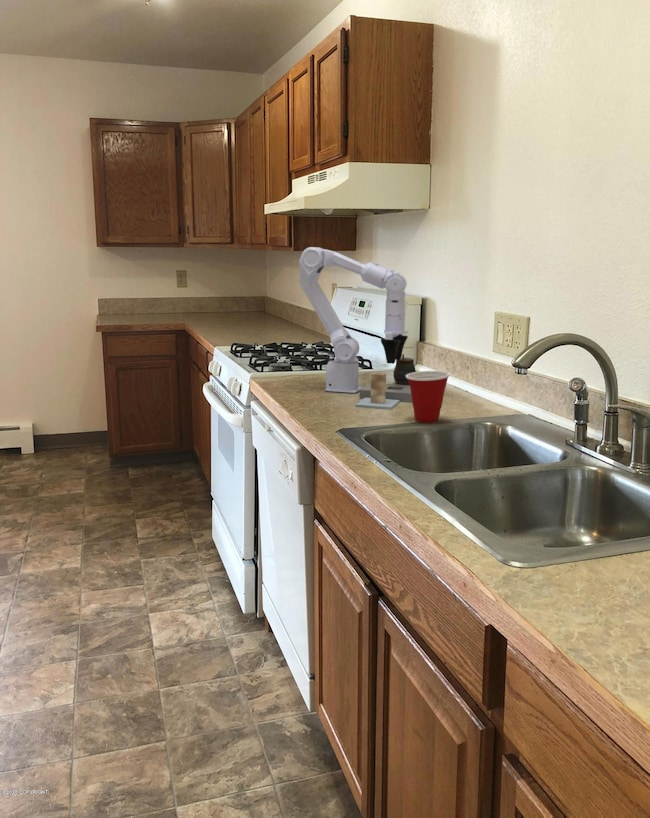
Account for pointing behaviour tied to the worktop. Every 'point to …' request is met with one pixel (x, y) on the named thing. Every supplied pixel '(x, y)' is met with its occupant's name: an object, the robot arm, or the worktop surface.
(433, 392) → the plastic cup
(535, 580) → the worktop surface
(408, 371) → the mate gourd
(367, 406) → the mat
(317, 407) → the worktop surface
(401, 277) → the robot arm
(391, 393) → the grey flat plate
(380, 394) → the plug
